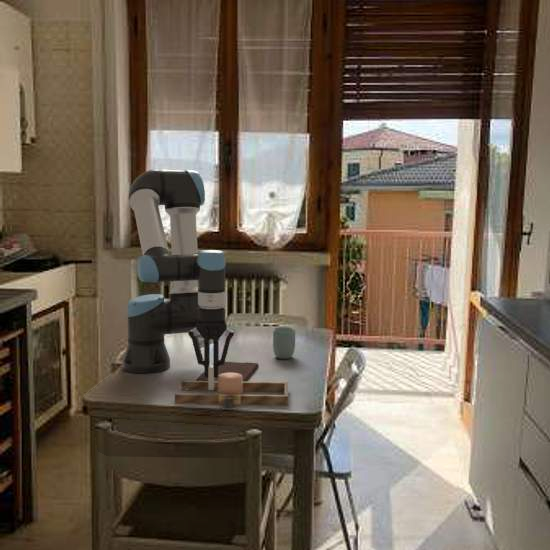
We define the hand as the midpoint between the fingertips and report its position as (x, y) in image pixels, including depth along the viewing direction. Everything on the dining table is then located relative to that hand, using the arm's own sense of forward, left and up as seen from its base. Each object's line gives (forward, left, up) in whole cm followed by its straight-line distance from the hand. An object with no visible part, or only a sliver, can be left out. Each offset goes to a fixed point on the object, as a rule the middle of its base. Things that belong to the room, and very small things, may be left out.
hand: (211, 388), depth 171 cm
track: (+6, -1, -3) cm, 7 cm away
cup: (+21, +40, -3) cm, 45 cm away
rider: (+5, 0, -3) cm, 6 cm away
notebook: (+3, +20, -3) cm, 21 cm away
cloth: (-10, +64, -3) cm, 65 cm away
